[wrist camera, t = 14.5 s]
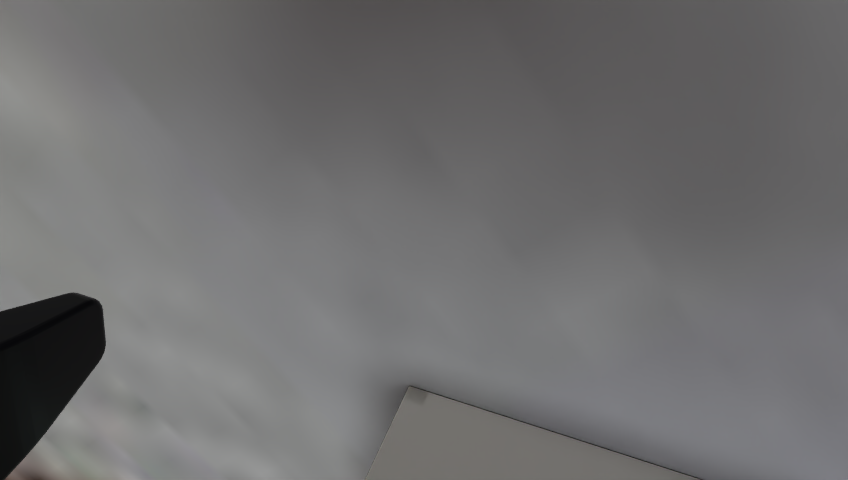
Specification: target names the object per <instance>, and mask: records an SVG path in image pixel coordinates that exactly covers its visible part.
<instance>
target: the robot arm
mask: <svg viewBox="0 0 848 480" xmlns="http://www.w3.org/2000/svg"><path fill="white" fill-rule="evenodd" d="M105 346H106V339H105V329H104V318H103V308H102V305H101V304H100V302H99V301H98V300H96V299H94V298H91V297H88V296H85V295H82V294H79V293H67V294H63V295H60V296H56V297H52V298H49V299H45V300H41V301H38V302H34V303H30V304H27V305H23V306H19V307H16V308H12V309H8V310H4V311H1V312H0V480H5V478H6V477H7V476H8V475H9V474H10V473H11V472H12V471H13V470H14V469H15V468H16V466H17V465H18V464H19V463H20V462H21V461H22V460H23V459H24V458H25V457H26V455H27V454H28V453H29V452H30V451H31V450H32V449H33V447H34V446H35V445H36V444H37V443H38V441H39V440H40V439H41V438H42V437H43V435H44V434H45V433H46V432H47V430H48V429H49V428H50V426H51V425H52V424H53V422H54V421H55V420H56V418H57V417H58V416H59V414H60V413H61V412H62V410H63V409H64V408H65V406H66V405H67V404H68V402H69V401H70V400H71V398H72V397H73V396H74V394H75V393H76V392H77V390H78V389H79V388H80V387H81V385H82V384H83V383H84V381H85V380H86V379H87V377H88V376H89V375H90V373H91V372H92V371H93V369H94V368H95V367H96V365H97V364H98V363H99V361H100V360H101V358H102V356H103V354H104V351H105Z"/></svg>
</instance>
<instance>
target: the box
mask: <svg viewBox="0 0 848 480" xmlns="http://www.w3.org/2000/svg"><path fill="white" fill-rule="evenodd" d="M365 480H700V479H697V478H694V477H691V476H688V475H685V474H682V473H678V472H675V471H672V470H669V469H666V468H663V467H660V466H657V465H654V464H650V463H647V462H644V461H641V460H638V459H635V458H632V457H629V456H626V455H622V454H619V453H616V452H613V451H610V450H607V449H604V448H601V447H598V446H594V445H591V444H588V443H585V442H582V441H579V440H576V439H573V438H570V437H567V436H563V435H560V434H557V433H554V432H551V431H548V430H545V429H542V428H539V427H535V426H532V425H529V424H526V423H523V422H520V421H517V420H514V419H511V418H507V417H504V416H501V415H498V414H495V413H492V412H489V411H486V410H483V409H479V408H476V407H473V406H470V405H467V404H464V403H461V402H458V401H455V400H451V399H448V398H445V397H442V396H439V395H436V394H433V393H430V392H427V391H423V390H420V389H417V388H414V387H411V386H409V387H408V389H407V391H406V393H405V396H404V398H403V400H402V402H401V404H400V406H399V408H398V410H397V413H396V415H395V417H394V419H393V421H392V423H391V425H390V427H389V430H388V432H387V434H386V436H385V438H384V440H383V442H382V444H381V447H380V449H379V451H378V453H377V455H376V457H375V459H374V461H373V464H372V466H371V468H370V470H369V472H368V474H367V476H366V478H365Z"/></svg>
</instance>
